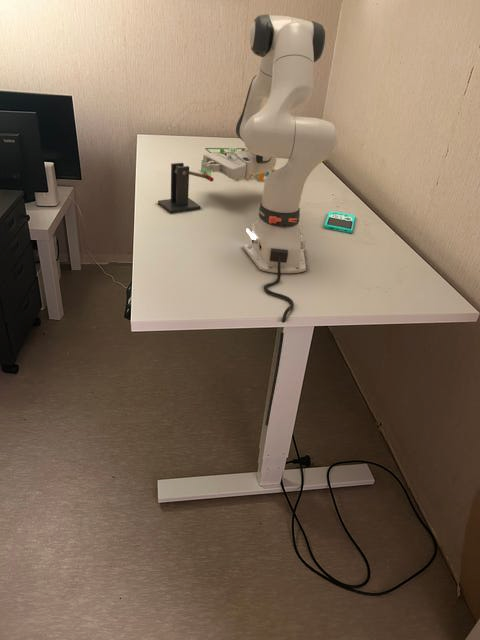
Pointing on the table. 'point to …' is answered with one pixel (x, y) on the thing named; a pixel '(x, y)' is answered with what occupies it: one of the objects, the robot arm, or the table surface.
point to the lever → (197, 174)
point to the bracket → (179, 191)
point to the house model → (259, 177)
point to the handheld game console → (340, 222)
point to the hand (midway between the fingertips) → (205, 166)
